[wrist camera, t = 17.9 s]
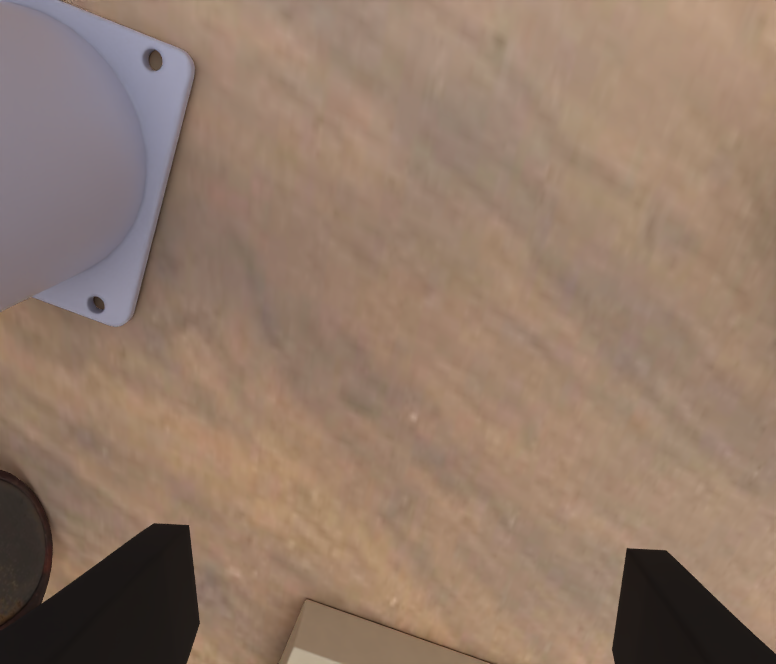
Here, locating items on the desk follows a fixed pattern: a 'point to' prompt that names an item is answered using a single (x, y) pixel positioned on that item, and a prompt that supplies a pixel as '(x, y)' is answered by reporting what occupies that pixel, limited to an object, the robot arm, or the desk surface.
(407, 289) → the desk surface
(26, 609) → the eyeglasses
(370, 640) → the scale
